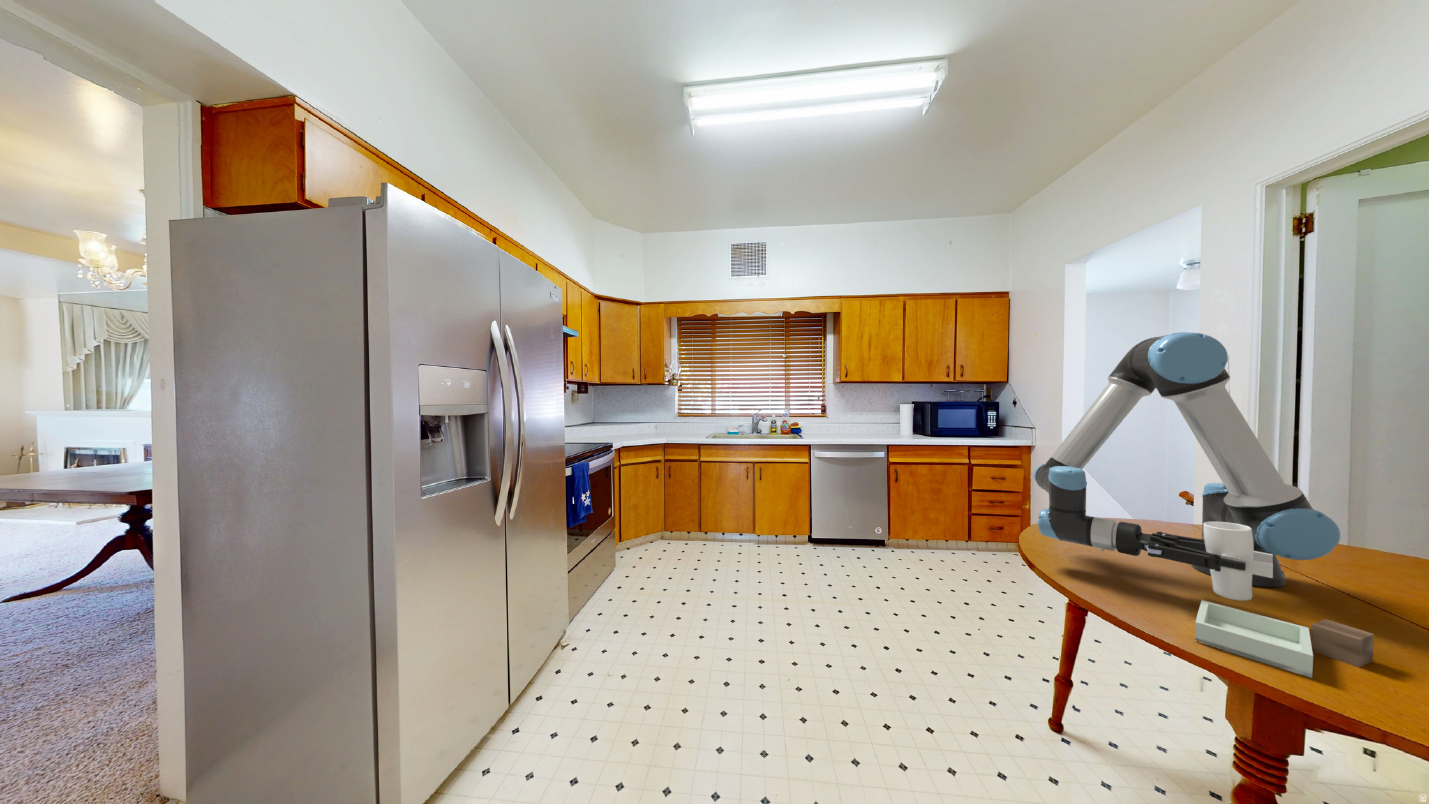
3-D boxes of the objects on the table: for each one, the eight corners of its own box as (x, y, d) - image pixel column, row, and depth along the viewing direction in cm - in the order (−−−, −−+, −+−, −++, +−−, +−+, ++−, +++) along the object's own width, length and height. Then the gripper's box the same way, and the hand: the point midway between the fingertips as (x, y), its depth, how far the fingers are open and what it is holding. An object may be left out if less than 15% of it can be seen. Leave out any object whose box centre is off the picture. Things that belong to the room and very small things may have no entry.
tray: (1201, 617, 89) (1201, 600, 89) (1307, 647, 78) (1308, 627, 78) (1194, 641, 81) (1195, 621, 81) (1312, 678, 71) (1313, 656, 70)
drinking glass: (1263, 606, 85) (1257, 532, 85) (1212, 598, 90) (1207, 527, 90) (1252, 593, 91) (1246, 523, 91) (1204, 586, 95) (1199, 519, 95)
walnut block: (1324, 645, 79) (1326, 619, 79) (1372, 661, 74) (1373, 634, 74) (1310, 650, 78) (1312, 624, 78) (1358, 668, 73) (1359, 639, 73)
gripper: (1125, 541, 110) (1272, 570, 92) (1108, 562, 98) (1272, 599, 80) (1125, 513, 110) (1272, 536, 91) (1108, 530, 98) (1273, 560, 80)
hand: (1272, 565), depth 86 cm, fingers closed on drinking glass, 6 cm apart
